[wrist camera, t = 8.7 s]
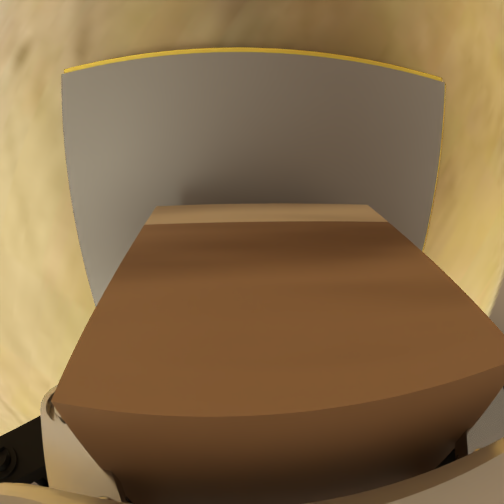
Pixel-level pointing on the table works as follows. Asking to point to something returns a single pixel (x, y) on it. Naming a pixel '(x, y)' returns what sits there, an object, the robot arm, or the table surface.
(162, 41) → the table surface
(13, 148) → the table surface
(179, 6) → the table surface
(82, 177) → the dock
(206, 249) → the brown wooden block
